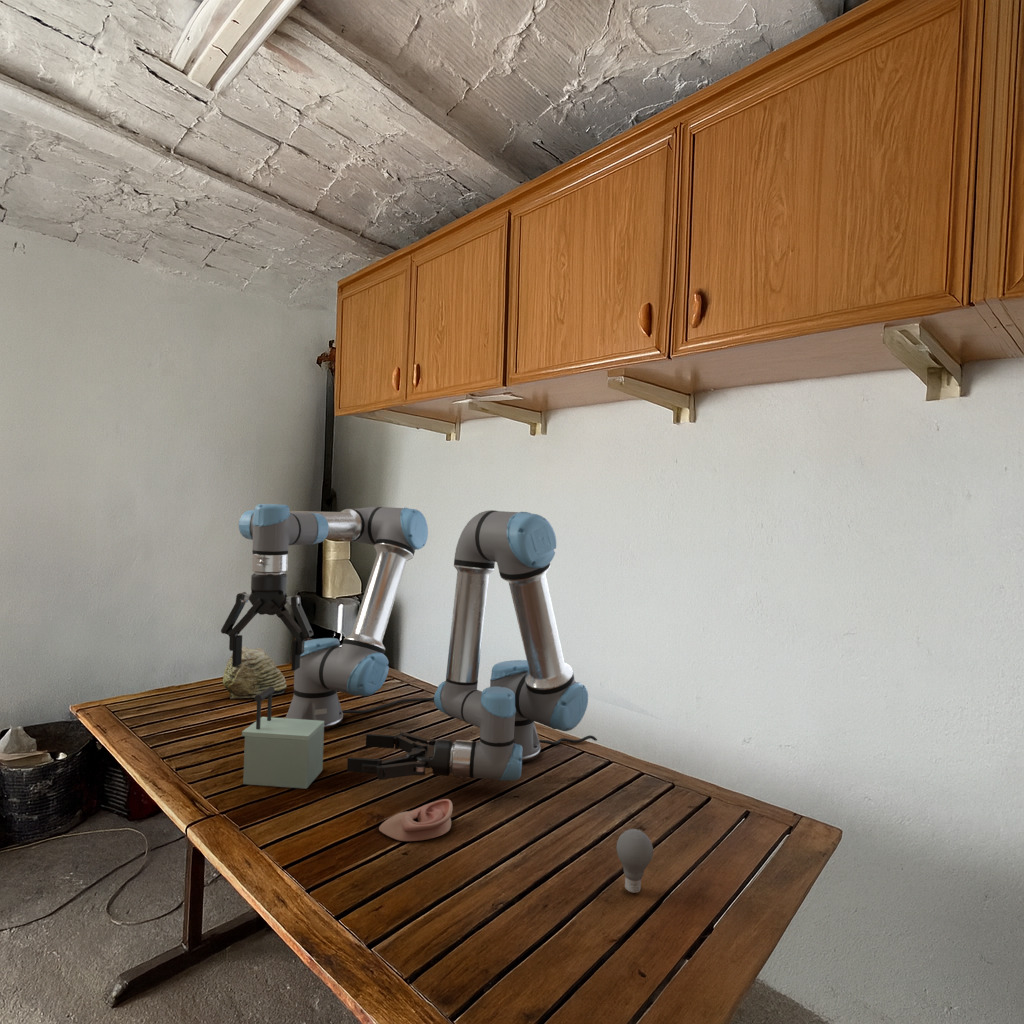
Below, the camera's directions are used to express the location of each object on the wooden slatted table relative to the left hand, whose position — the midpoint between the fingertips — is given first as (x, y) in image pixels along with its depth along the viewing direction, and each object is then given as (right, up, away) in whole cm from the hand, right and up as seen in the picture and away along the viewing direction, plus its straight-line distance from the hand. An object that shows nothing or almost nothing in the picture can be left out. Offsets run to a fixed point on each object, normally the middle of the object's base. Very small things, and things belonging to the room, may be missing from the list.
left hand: (266, 667), depth 142 cm
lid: (+4, -14, 0) cm, 15 cm away
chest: (+4, -25, 0) cm, 25 cm away
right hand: (+21, -19, -1) cm, 28 cm away
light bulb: (+75, -29, -37) cm, 88 cm away
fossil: (-25, -22, +56) cm, 65 cm away
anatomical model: (+37, -27, -19) cm, 49 cm away
